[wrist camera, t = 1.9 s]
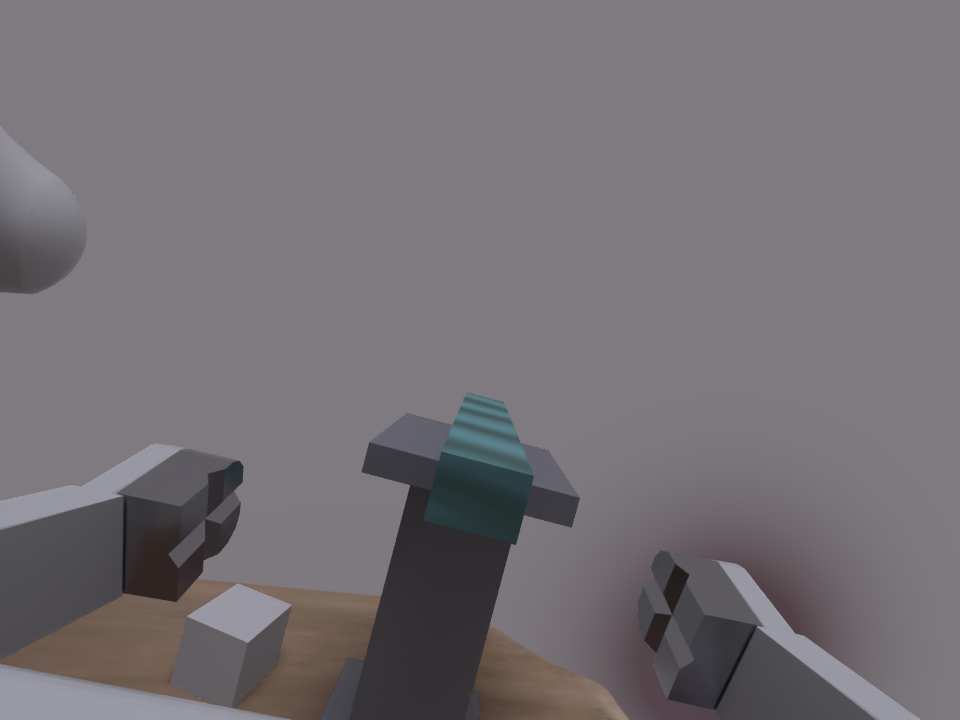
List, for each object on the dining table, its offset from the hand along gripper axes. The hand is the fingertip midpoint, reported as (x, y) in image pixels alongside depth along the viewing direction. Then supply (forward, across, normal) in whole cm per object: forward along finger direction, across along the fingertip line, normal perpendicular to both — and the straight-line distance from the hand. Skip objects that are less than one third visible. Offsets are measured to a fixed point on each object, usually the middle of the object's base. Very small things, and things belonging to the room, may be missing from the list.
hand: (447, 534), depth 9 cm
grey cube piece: (+23, +15, +36) cm, 45 cm away
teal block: (+22, -2, +10) cm, 24 cm away
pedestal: (+19, -1, +36) cm, 40 cm away
